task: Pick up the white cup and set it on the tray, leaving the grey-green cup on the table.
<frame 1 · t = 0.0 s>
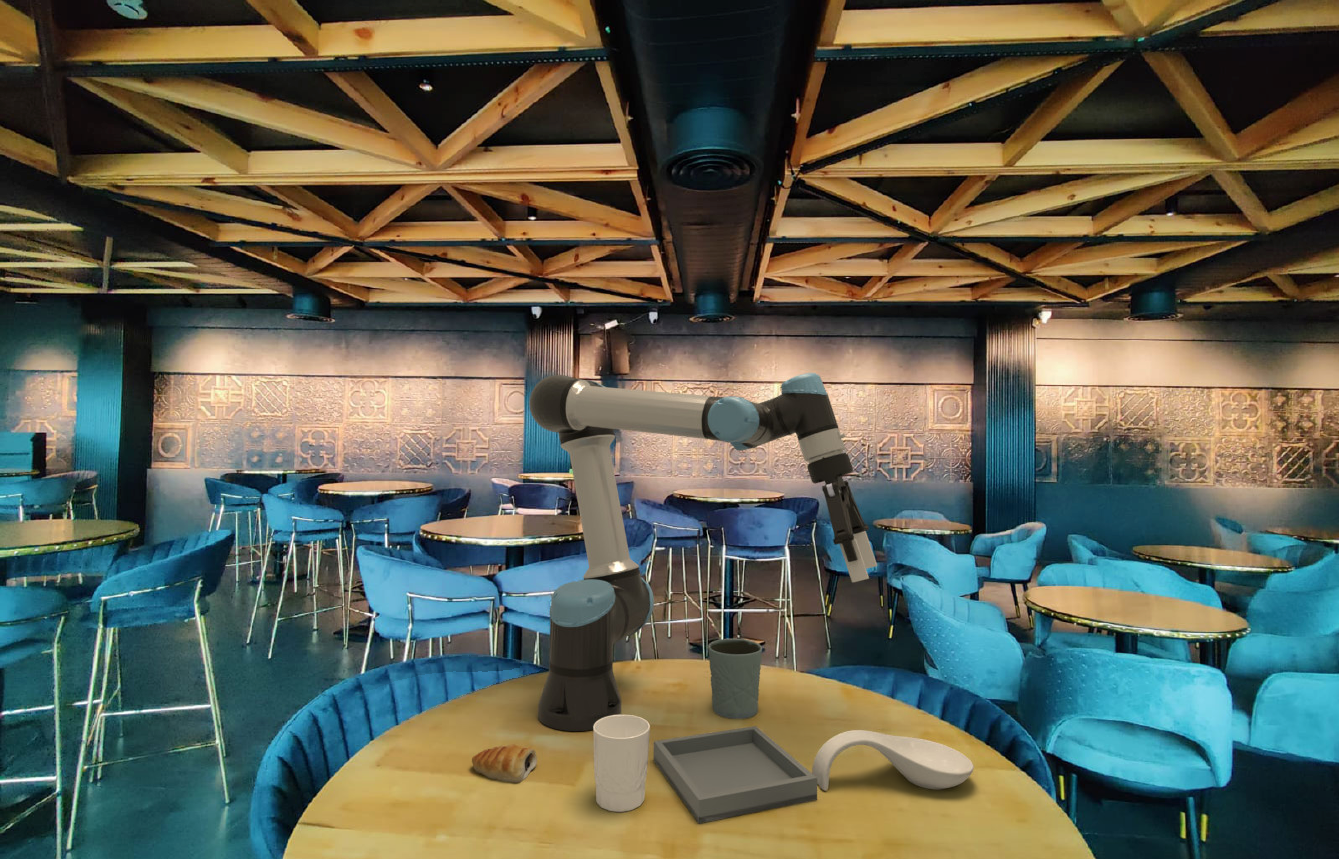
hand: (865, 573, 110), 28 cm above the table, tool tilted 20°, fingers open, 13 cm apart
grey-green cup 2: (734, 711, 119), on the table
white cup: (620, 800, 88), on the table
spoon rest: (893, 783, 94), on the table
tray: (730, 779, 94), on the table
pastry: (506, 774, 95), on the table
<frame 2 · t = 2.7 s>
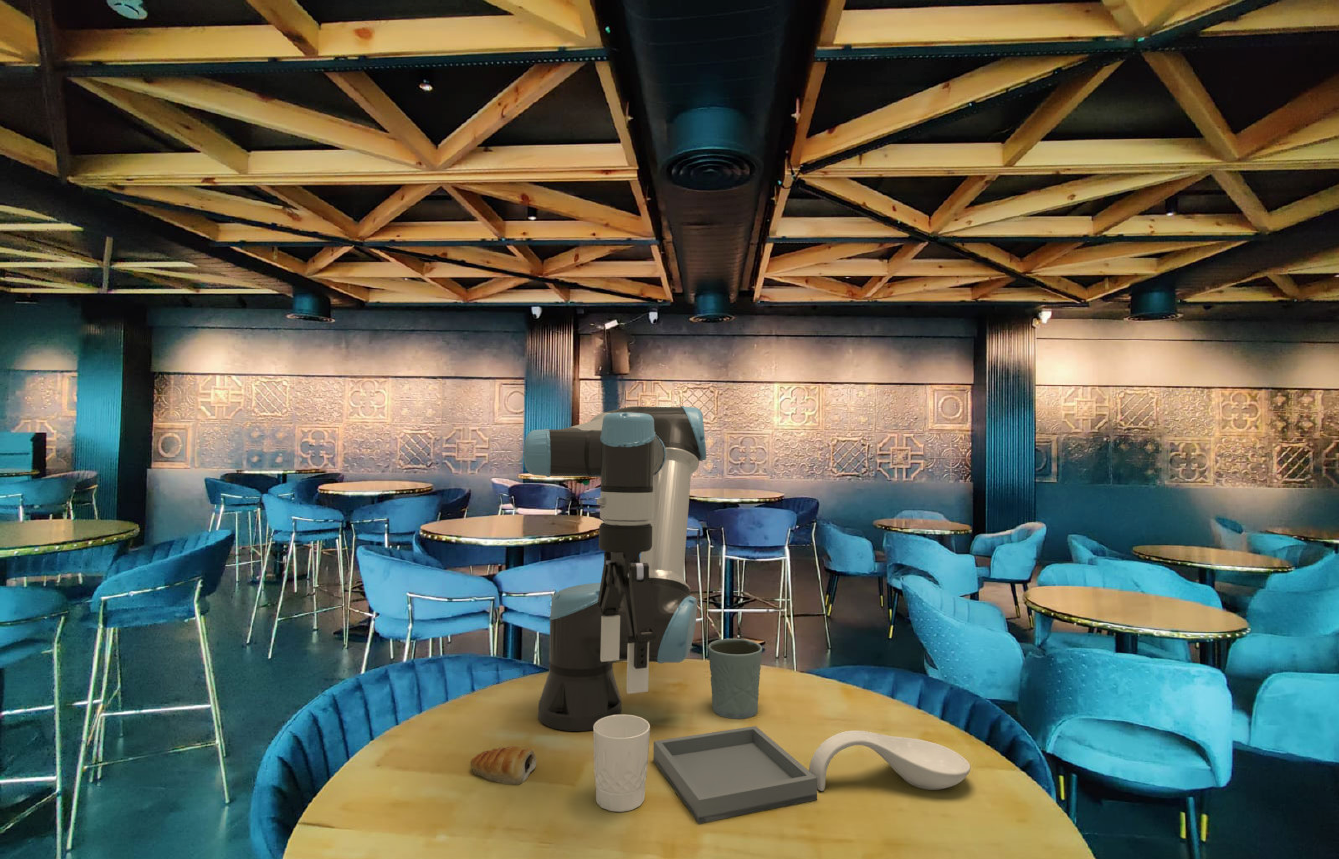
hand: (622, 675, 88), 17 cm above the table, tool pointing down, fingers open, 13 cm apart
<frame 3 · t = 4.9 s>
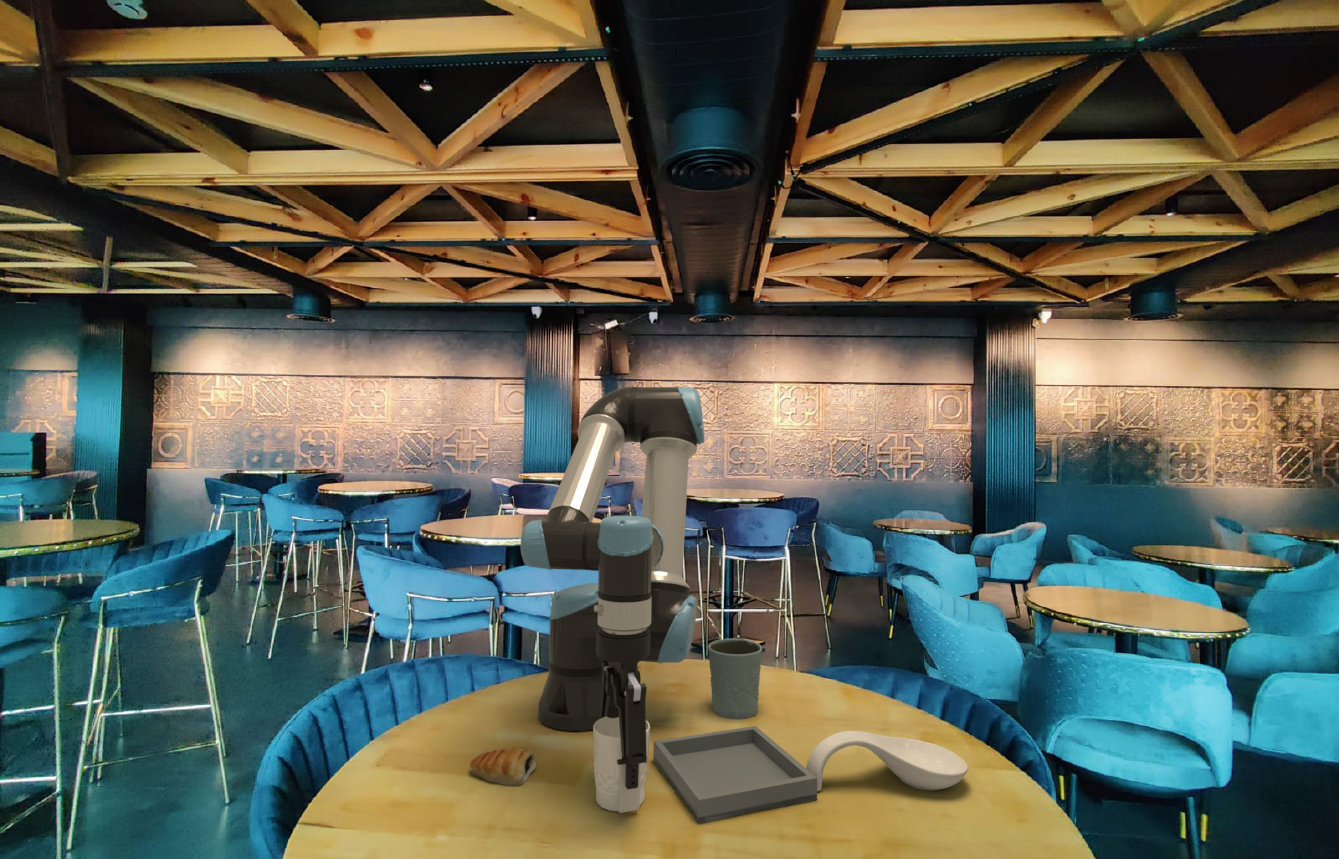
hand: (620, 794, 88), 1 cm above the table, tool pointing down, fingers closed on white cup, 7 cm apart
white cup: (620, 800, 88), on the table, touching gripper
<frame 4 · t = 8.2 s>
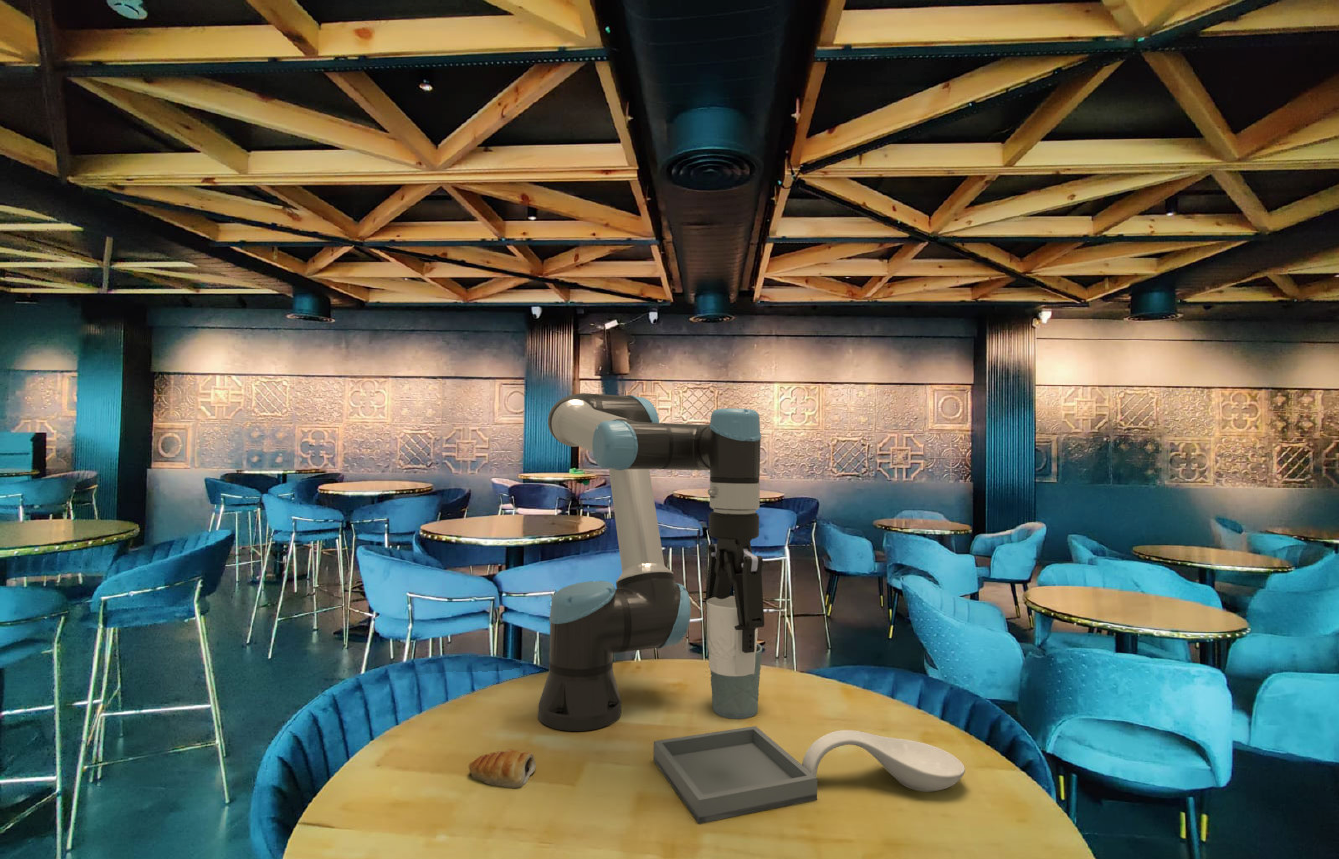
hand: (732, 664, 94), 17 cm above the table, tool pointing down, fingers closed on white cup, 7 cm apart
white cup: (731, 670, 94), point 16 cm above the table, touching gripper
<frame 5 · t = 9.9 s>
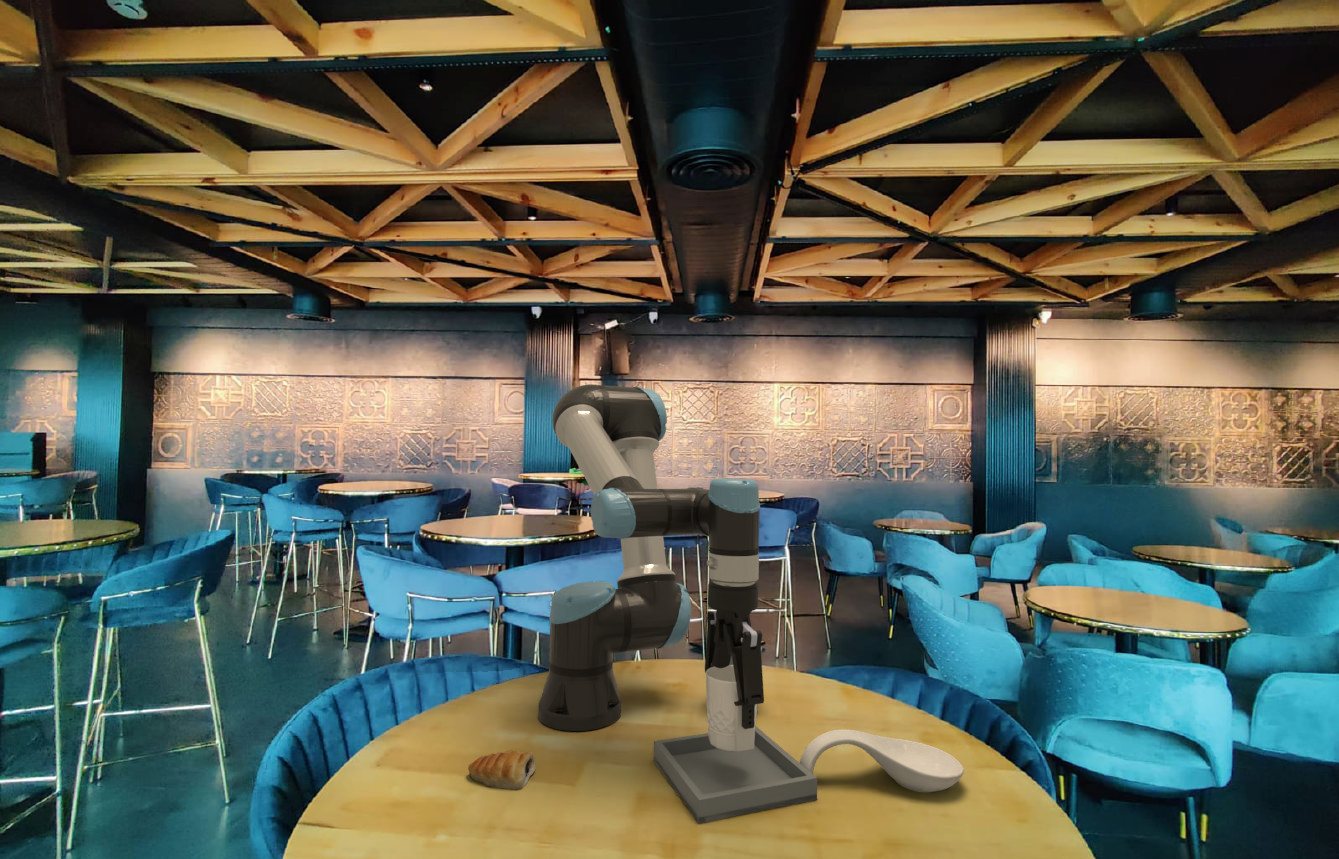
hand: (731, 736, 94), 6 cm above the table, tool pointing down, fingers closed on white cup, 7 cm apart
white cup: (731, 743, 94), point 5 cm above the table, touching gripper
when the fingers open (3 cm above the table, at t = 11.4 s): white cup drops 2 cm, resting on tray.
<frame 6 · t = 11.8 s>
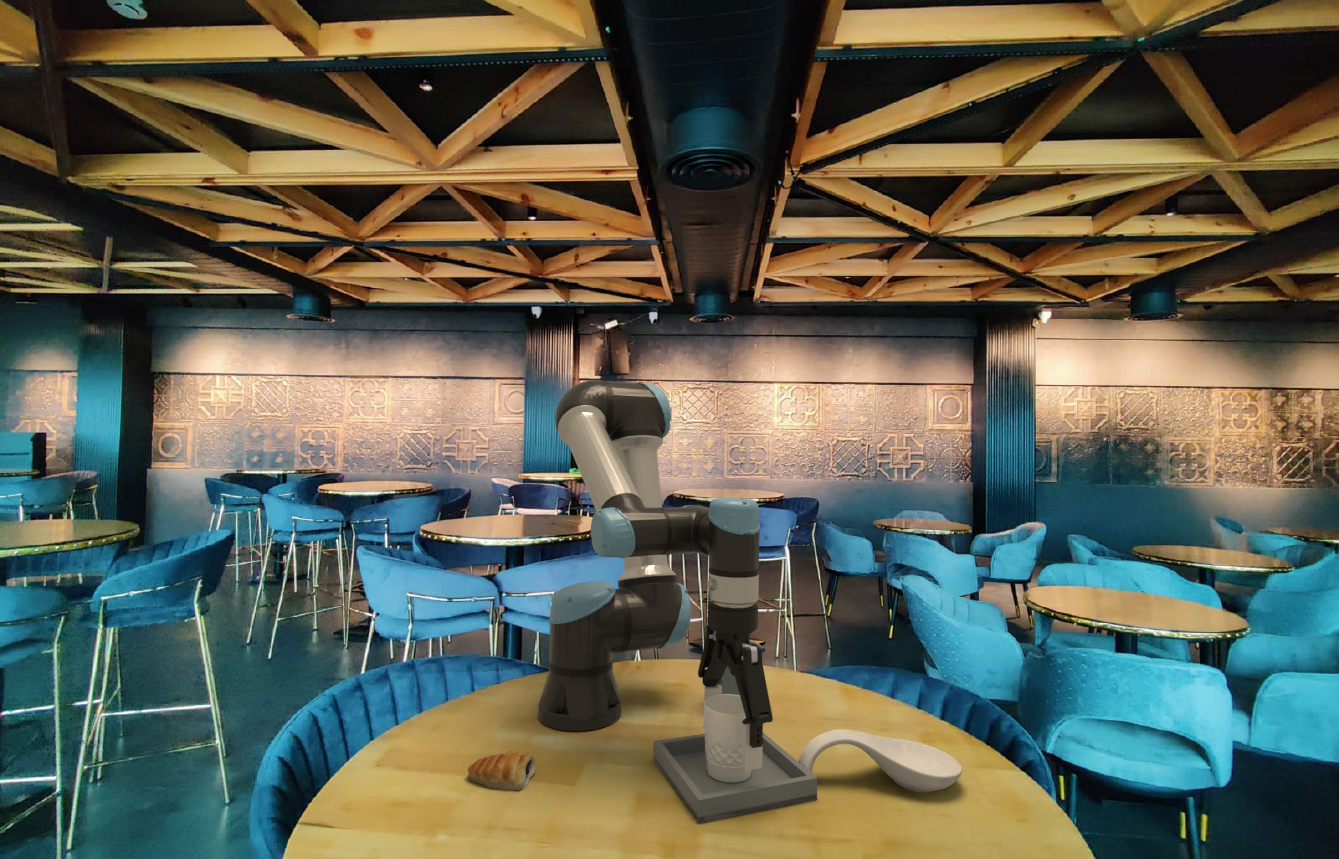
hand: (731, 747, 94), 5 cm above the table, tool pointing down, fingers open, 13 cm apart
white cup: (729, 773, 94), point 1 cm above the table, touching tray
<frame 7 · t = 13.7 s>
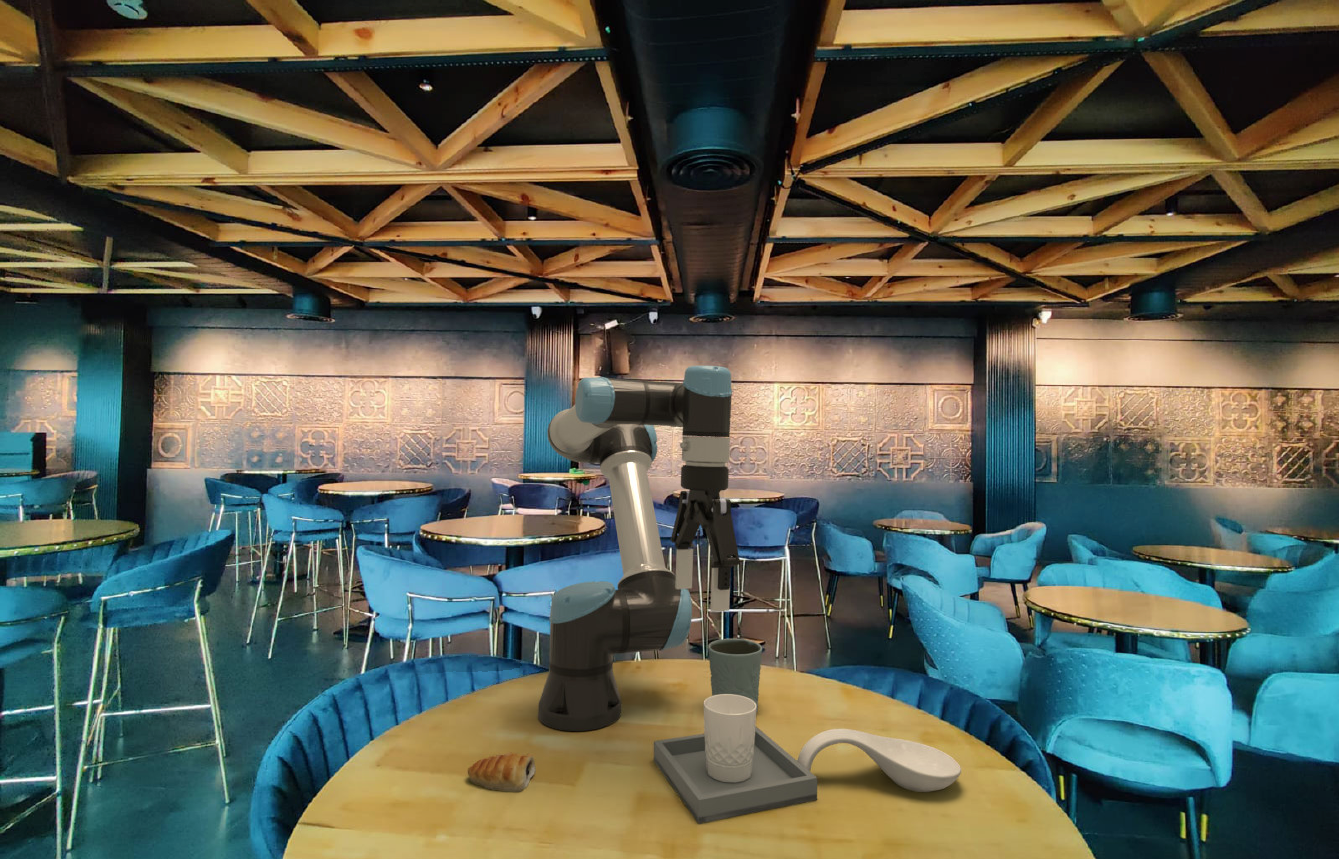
hand: (700, 599, 100), 25 cm above the table, tool pointing down, fingers open, 13 cm apart
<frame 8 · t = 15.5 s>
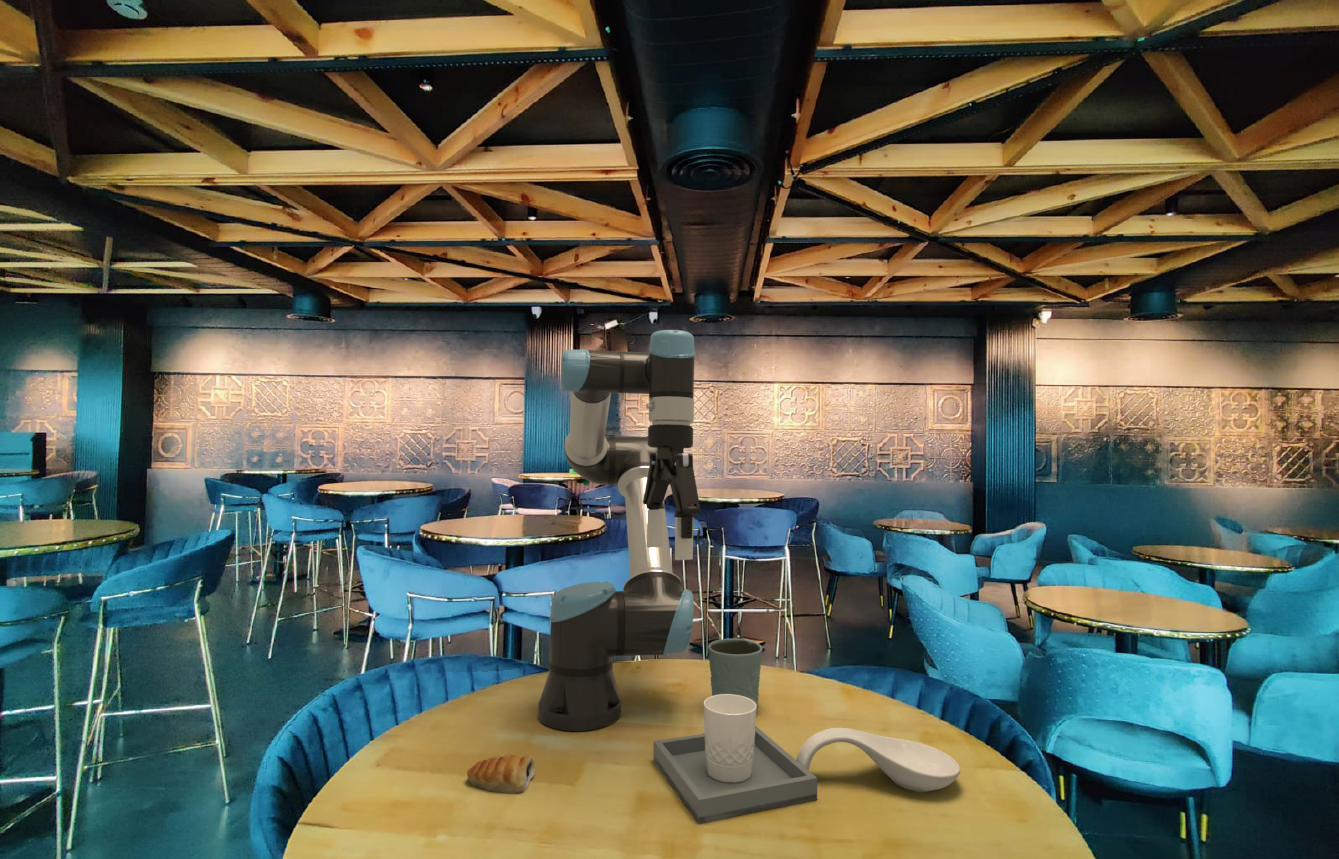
hand: (668, 553, 104), 32 cm above the table, tool pointing down, fingers open, 13 cm apart
at the end: white cup inside the target area on the tray (0.5 cm from its centre), point 0.6 cm above the tray's base; white cup tilted 0°; the gripper is holding nothing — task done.
